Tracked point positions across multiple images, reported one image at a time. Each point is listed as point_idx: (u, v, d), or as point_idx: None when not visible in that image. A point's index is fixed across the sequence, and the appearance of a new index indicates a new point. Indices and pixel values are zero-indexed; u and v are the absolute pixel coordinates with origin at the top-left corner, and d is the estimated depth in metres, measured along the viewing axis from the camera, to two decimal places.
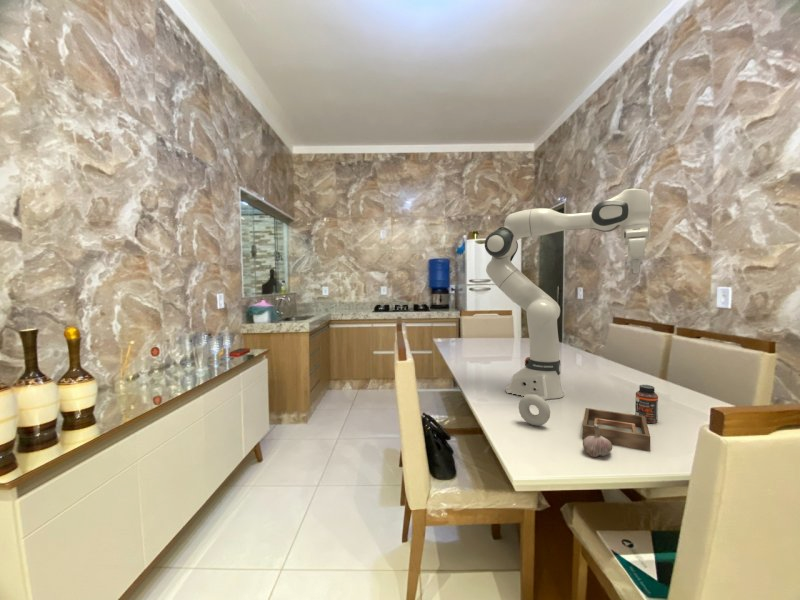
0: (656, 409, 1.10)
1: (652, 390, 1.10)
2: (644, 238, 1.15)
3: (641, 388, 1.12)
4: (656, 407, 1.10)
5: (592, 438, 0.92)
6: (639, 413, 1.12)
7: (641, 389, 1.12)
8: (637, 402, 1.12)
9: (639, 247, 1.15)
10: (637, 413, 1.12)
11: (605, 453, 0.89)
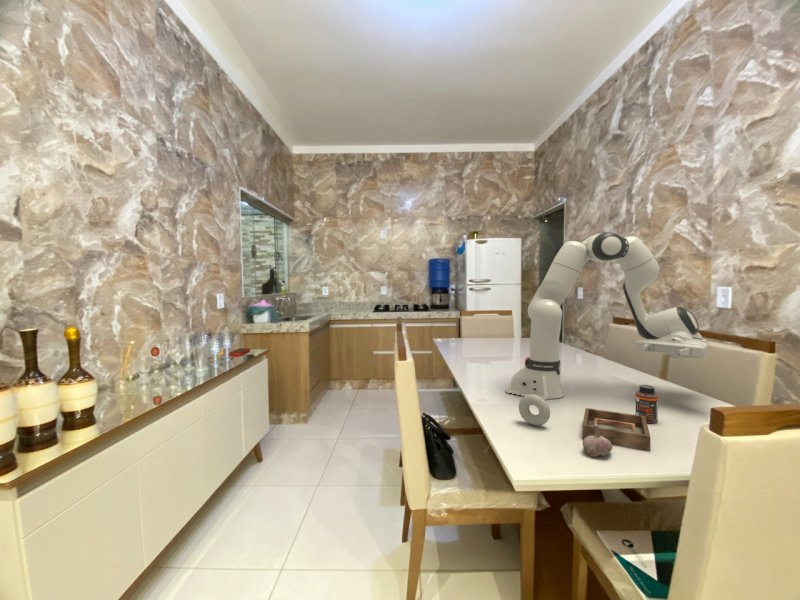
0: (656, 409, 1.10)
1: (652, 390, 1.10)
2: None
3: (641, 388, 1.12)
4: (656, 407, 1.10)
5: (592, 438, 0.92)
6: (639, 413, 1.12)
7: (641, 389, 1.12)
8: (637, 402, 1.12)
9: (707, 353, 1.15)
10: (637, 413, 1.12)
11: (605, 453, 0.89)
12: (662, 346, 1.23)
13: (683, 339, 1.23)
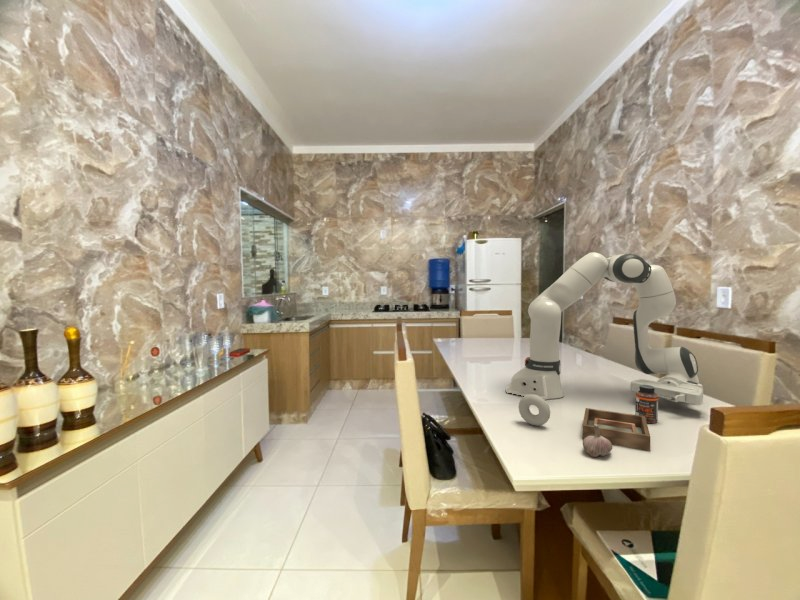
0: (656, 409, 1.10)
1: (652, 390, 1.10)
2: None
3: (641, 388, 1.12)
4: (656, 407, 1.10)
5: (592, 438, 0.92)
6: (639, 413, 1.12)
7: (641, 389, 1.12)
8: (637, 402, 1.12)
9: (702, 399, 1.14)
10: (637, 413, 1.12)
11: (605, 453, 0.89)
12: (657, 389, 1.22)
13: (678, 382, 1.22)
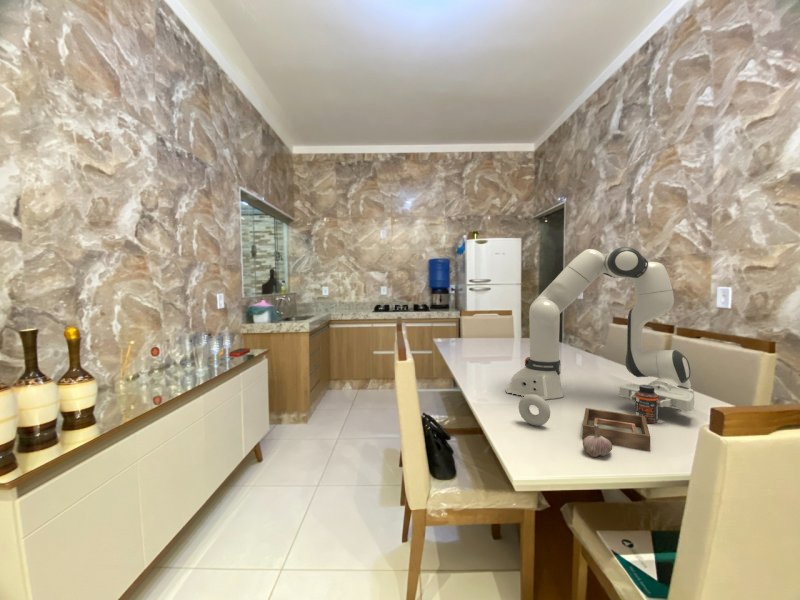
0: (656, 409, 1.10)
1: (652, 390, 1.10)
2: None
3: (641, 388, 1.12)
4: (656, 407, 1.10)
5: (592, 438, 0.92)
6: (639, 413, 1.12)
7: (641, 389, 1.12)
8: (637, 402, 1.12)
9: (693, 405, 1.08)
10: (637, 413, 1.12)
11: (605, 453, 0.89)
12: None
13: (669, 387, 1.16)
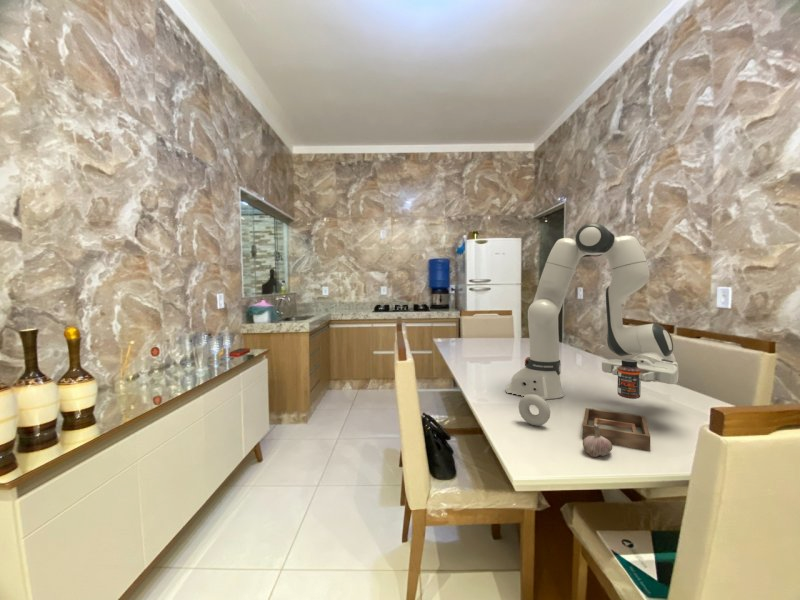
0: (639, 384, 1.04)
1: (634, 364, 1.05)
2: None
3: (623, 362, 1.06)
4: (639, 381, 1.04)
5: (592, 438, 0.92)
6: (621, 388, 1.06)
7: (623, 363, 1.06)
8: (619, 377, 1.07)
9: (676, 378, 1.03)
10: (619, 388, 1.07)
11: (605, 453, 0.89)
12: None
13: (652, 361, 1.11)
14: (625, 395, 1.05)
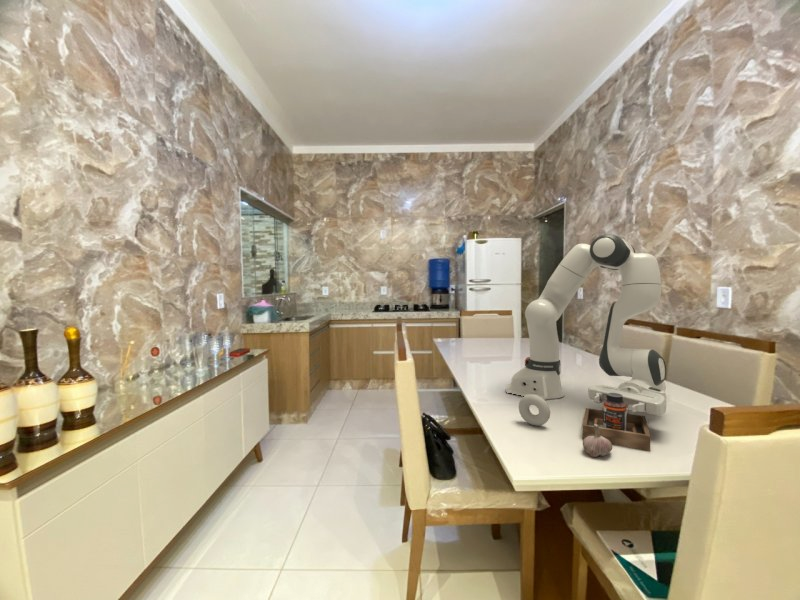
0: (624, 420, 1.01)
1: (620, 399, 1.01)
2: None
3: (608, 397, 1.03)
4: (624, 417, 1.00)
5: (592, 438, 0.92)
6: (606, 424, 1.02)
7: (608, 398, 1.03)
8: (604, 412, 1.03)
9: (663, 409, 0.99)
10: (604, 424, 1.03)
11: (605, 453, 0.89)
12: None
13: (640, 389, 1.07)
14: None
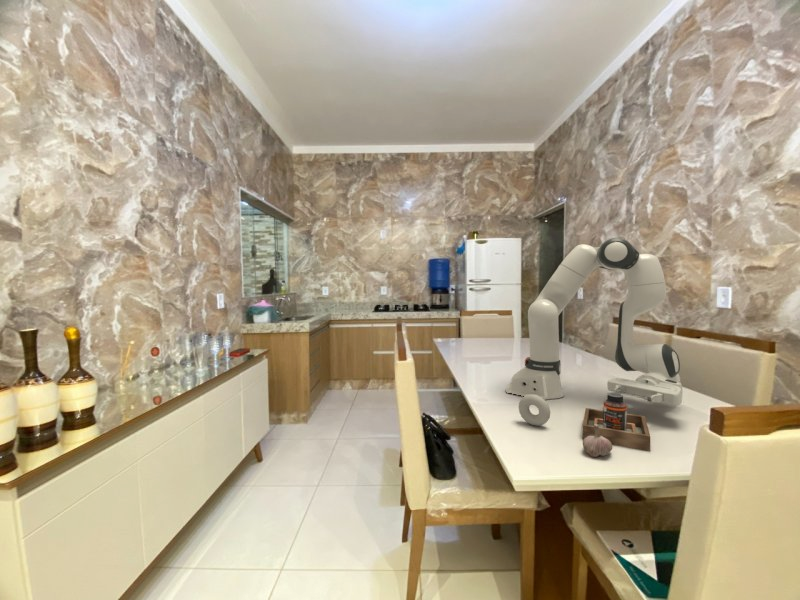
0: (624, 420, 1.00)
1: (620, 399, 1.01)
2: None
3: (609, 397, 1.03)
4: (624, 418, 1.00)
5: (592, 438, 0.92)
6: (606, 424, 1.02)
7: (609, 398, 1.03)
8: (604, 412, 1.03)
9: (680, 399, 1.06)
10: (604, 424, 1.03)
11: (605, 453, 0.89)
12: (634, 389, 1.14)
13: (657, 381, 1.15)
14: None
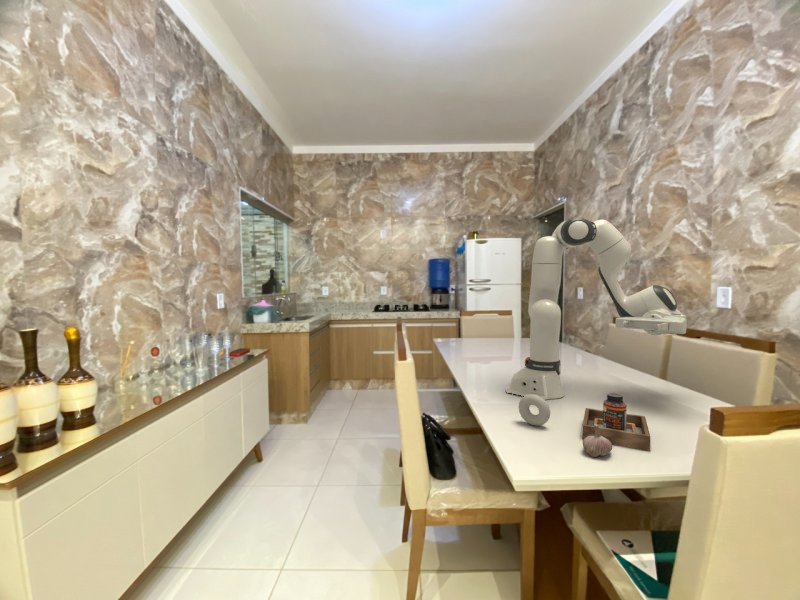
0: (624, 420, 1.01)
1: (620, 399, 1.01)
2: None
3: (608, 396, 1.03)
4: (624, 417, 1.00)
5: (592, 438, 0.92)
6: (606, 424, 1.02)
7: (608, 398, 1.03)
8: (604, 412, 1.03)
9: (685, 327, 1.14)
10: (604, 424, 1.03)
11: (605, 453, 0.89)
12: (641, 322, 1.22)
13: (662, 315, 1.22)
14: None
